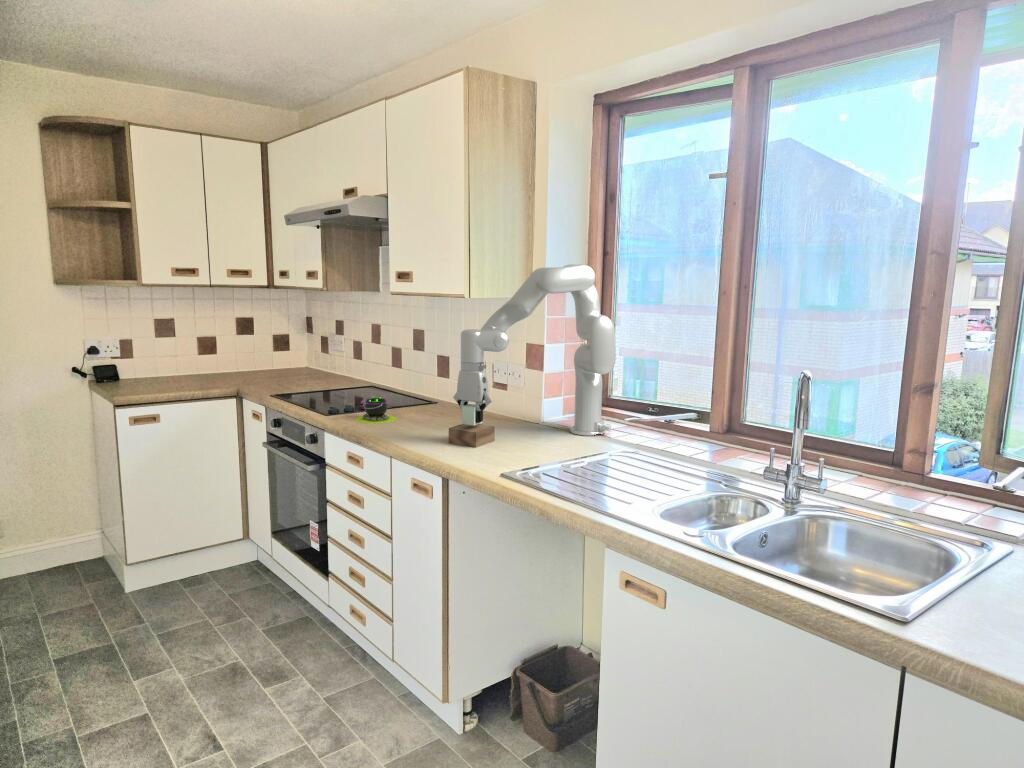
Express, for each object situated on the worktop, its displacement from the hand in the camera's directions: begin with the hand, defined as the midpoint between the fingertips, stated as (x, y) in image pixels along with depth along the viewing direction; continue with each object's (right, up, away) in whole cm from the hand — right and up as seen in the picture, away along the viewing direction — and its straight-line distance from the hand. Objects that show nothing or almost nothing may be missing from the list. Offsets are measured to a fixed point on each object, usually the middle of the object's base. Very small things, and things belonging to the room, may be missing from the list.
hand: (472, 420), depth 222 cm
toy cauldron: (-39, -2, +34) cm, 52 cm away
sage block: (0, -1, 0) cm, 1 cm away
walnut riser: (0, -7, +1) cm, 7 cm away
